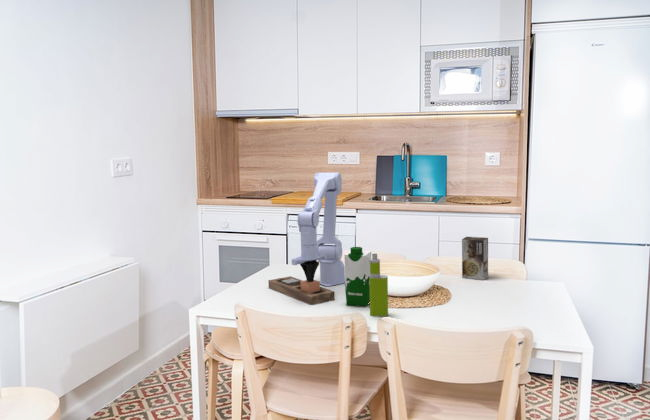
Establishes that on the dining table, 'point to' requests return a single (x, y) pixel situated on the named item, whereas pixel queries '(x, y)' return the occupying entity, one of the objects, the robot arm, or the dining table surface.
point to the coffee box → (475, 258)
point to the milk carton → (357, 277)
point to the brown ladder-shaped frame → (301, 295)
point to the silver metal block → (290, 282)
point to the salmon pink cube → (310, 286)
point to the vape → (378, 289)
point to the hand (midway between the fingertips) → (310, 281)
